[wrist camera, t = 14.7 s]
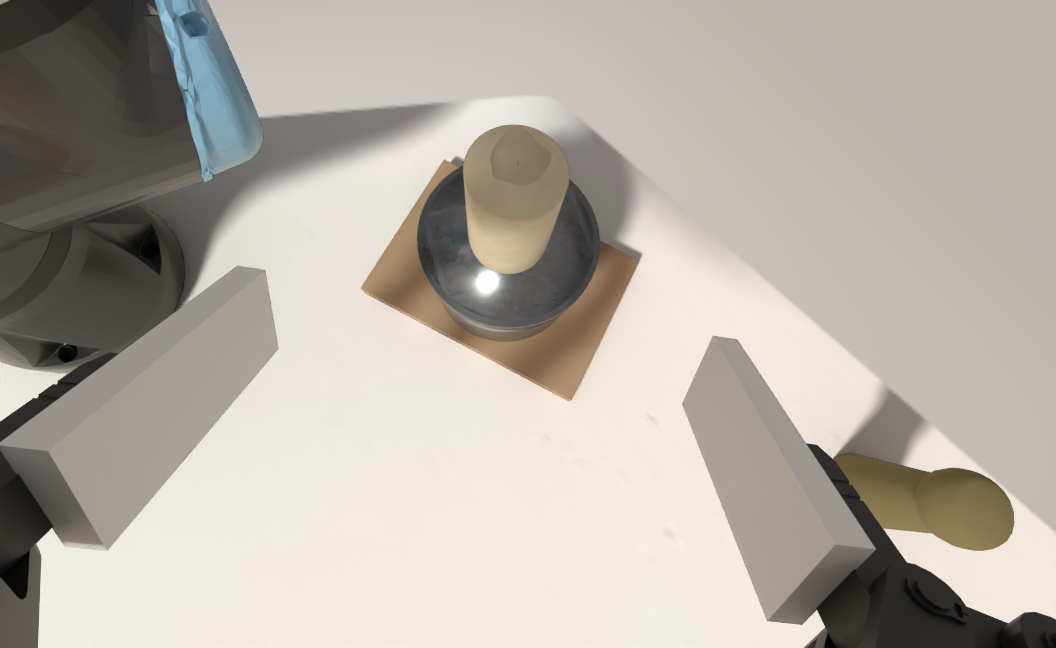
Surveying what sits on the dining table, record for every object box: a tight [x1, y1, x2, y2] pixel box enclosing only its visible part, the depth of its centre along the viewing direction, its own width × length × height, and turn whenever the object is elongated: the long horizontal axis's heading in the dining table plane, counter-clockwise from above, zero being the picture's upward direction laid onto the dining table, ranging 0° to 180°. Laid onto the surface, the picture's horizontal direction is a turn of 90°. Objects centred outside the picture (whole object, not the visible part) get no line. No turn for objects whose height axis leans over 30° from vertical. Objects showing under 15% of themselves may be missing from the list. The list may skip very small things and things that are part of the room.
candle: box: [463, 125, 570, 274], centre depth 27 cm, size 6×6×10 cm
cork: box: [833, 453, 1014, 551], centre depth 34 cm, size 6×6×11 cm
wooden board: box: [361, 160, 639, 401], centre depth 40 cm, size 20×14×2 cm
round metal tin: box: [417, 165, 600, 342], centre depth 35 cm, size 13×13×8 cm
